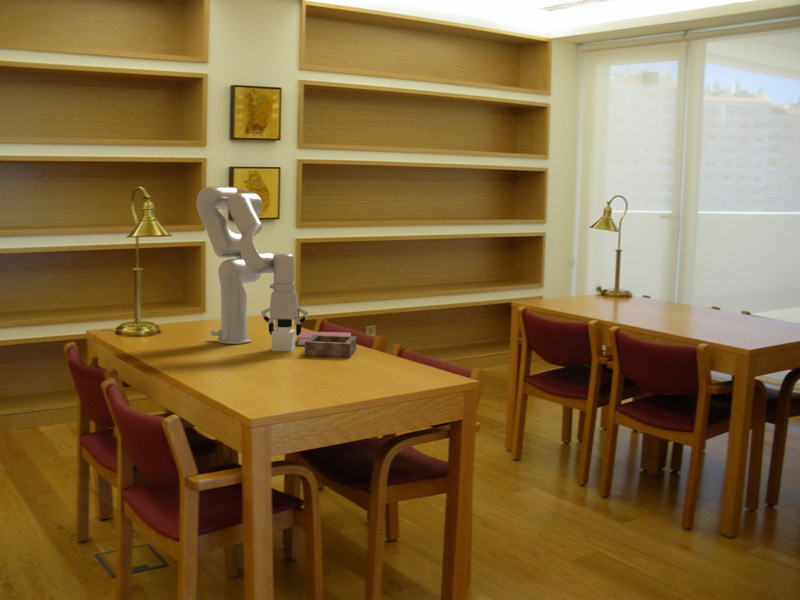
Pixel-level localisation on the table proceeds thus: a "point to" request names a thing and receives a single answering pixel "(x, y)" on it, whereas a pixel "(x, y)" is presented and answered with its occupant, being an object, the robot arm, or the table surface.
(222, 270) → the robot arm
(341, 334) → the pink flat slab
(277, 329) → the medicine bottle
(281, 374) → the table surface
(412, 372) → the table surface
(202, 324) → the table surface
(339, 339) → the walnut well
